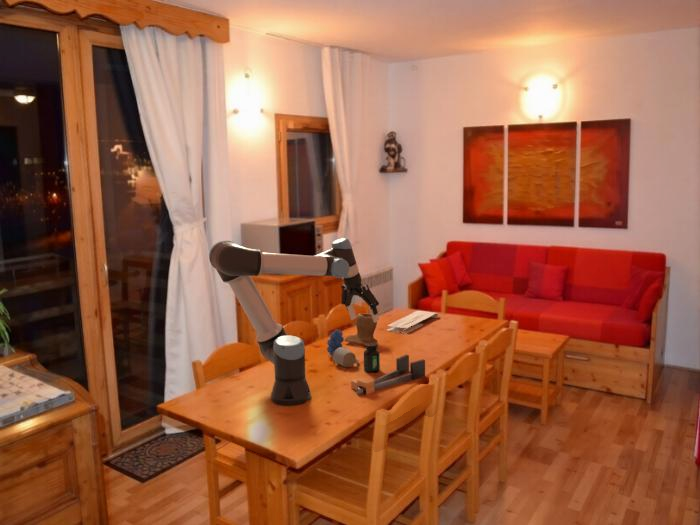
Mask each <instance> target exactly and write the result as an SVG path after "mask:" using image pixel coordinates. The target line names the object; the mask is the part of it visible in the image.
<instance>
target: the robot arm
mask: <svg viewBox="0 0 700 525" xmlns="http://www.w3.org/2000/svg"><path fill="white" fill-rule="evenodd" d="M208 257H209V258H208V259H209V263H210V265H211V267H212V268H214V269H215V270H216V272H217V273H218V275H219V277H220V279H221V280H222V282H223V283H225V284H226V283H227V284H228V285H229V287H230V288H231V290H232V292H233V293H234V295H235V297H236V299H237V300H238V302H239V304H240V307H241V308H242V309H243V311H244V313H245V315H246V316H247V319H248V321H249V322H250V324H251V325H252V327H253V330H255V332H256V336H255V340H256V342H257V345H258V346H259V350H260V353H261V355H262V356H263V357H264V358H266V359H267V361H268V360H269V361H270V362H271V363H272V364H273V366H274V383H273V386H272V387H273V388H272V390H271V393H270V397H271V398H270V399H271V402H272V403H273V404H275V405H278V406H284V407H294V406H298V405H299V406H300V405H303V404H305V403H307V402H308V401H310V399H311V398H312V397H311V396H312V394H311V389H310V386H309V383H308V381H307V378H306V354H305V353H306V347H305V342H304V340H303V339H302V338H300V337H298V336H294V335H290V334H289V335H288V333H287V332H286V330H285V328H284V326H283V324H281V323H278V322H276V320H275V317H274V316H273V315H272V313H271V311H270V308H269V307H268V304H267V303H266V301H265V300H264V298H263V296H262V294H261V293H260V291H259V288H258V287H257V284H256V282H254V279H253V278H252V276H253V277H259V276H260V275H261V274H266V275H267V274H268V275H270V274H271V275H293V276H294V275H297V276H320V277H322V276H323V277H334V278H336V279H342V282H343V284H342V285H341V305H344V306H345V307H346V309H347V313H348V314H349V317H350V320H351V321H353V320H356V318H357V315H356V312H355V309H354V308H355V307H354V305H353V303H352V301H353V298H354V296H356V297H359V298H361V299H362V300H363V301H364V302H365V303H366V304H367V305H368V306H369V311H370V314H371V315H372V318H373V321H374V323H375V322H377V323H378V321H379V320H380V318H379V315H378V314H379V313H378V312H379V311H378V308H377V306H379V305H380V302H379V301H378V299H377V298H376V296H375V295H374V293H373V292H372V291H371V290H370V287H369V285H368V284H367V283H366V284H364V285H363V284H362V275H361V273H360V272H359V271H360V270H359V267H358V262H357V260H356V257H355V254H354V251H353V246H352V244H351V241H350V239H349V238H347V237H342V238H338V239H335V240H334V241H332V242H331V248H329V249H327V250H326V251H325V250H324V251H322V252H320V253H317V254H314V255H304V254H289V253H275V252H274V253H273V252H262V251H261V250H260V249H255V248H254V249H253V248H249V247H245V246H243V245H239V244H237V243H235V242H234V241H231V240H220V241H218V242H216V243H215V244H214V245H212V247H211V249H210V251H209V254H208Z"/></svg>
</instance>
